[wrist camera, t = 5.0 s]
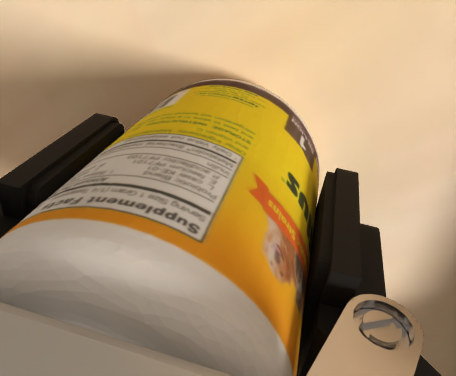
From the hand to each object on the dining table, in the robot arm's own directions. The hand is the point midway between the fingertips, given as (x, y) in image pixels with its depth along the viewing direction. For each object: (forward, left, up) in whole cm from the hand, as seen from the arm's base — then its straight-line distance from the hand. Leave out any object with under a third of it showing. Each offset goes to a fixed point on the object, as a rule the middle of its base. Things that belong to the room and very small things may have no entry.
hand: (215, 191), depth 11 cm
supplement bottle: (0, 0, -2) cm, 2 cm away
